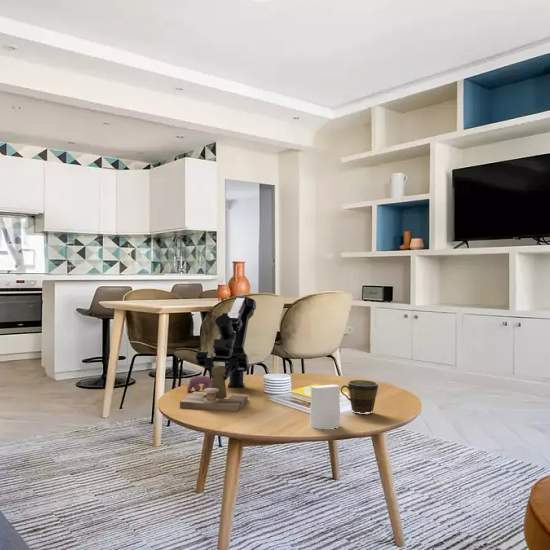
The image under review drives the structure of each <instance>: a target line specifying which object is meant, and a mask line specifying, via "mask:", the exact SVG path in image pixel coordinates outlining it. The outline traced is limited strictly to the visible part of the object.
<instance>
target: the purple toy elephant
mask: <svg viewBox="0 0 550 550" xmlns="http://www.w3.org/2000/svg"><path fill="white" fill-rule="evenodd" d="M212 379H213V378H212ZM212 379H210V377H209V376H206V375H197V376H192V378H190V379H189V381H188V385H187V387H186V388H187V393H190V392H191V391H192V389H194V391H196V390H199V391H201V390H200V389H202V392H204V389H206V388H211V386H212ZM201 384H202V387H201V386H200V385H201ZM189 391H190V392H189Z"/></svg>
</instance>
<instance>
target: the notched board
mask: <svg viewBox="0 0 550 550" xmlns="http://www.w3.org/2000/svg"><path fill="white" fill-rule="evenodd" d="M217 392H219V389H217V388H206V389H204V391H196V390H194V391H193V392H192V393H190V394H189V395H188V396H186V397H184V398H183V399H181V400H180V401H179V408H181V407H183V408H184V409H195V408H198V409H197V410H210V409H214V410H213V411H225V410H226V411H229V412H238V411H240V410H241V409H242V408H243V406H244V405H245V404H246V403H247V402H248V400H249V395H248V394H243V393H242V394H239V393H232V394H231V395H230V396H229V397H227V398H224V399H222V398H216V393H217ZM183 408H182V409H183Z"/></svg>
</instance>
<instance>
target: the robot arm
mask: <svg viewBox="0 0 550 550" xmlns="http://www.w3.org/2000/svg"><path fill="white" fill-rule="evenodd" d="M256 309H257V303H256V300H255V299H253V298H251V297H249V296H248V295H236V296H235V297H234V302H233V304H232V306H231V309H230V311H228V312H222V314H221V315H219V316H218V317H216V318H215V321H214V323H215V326H216V329H217V333H218V335H219V338H215V339H213V343H212V349H214V350H213V354H215V355H213V354H209V352H208V351H197V352H196V354H195V359H196V362H197V364H198V366H201V367H206V368H207V369H208V375H209V376H208V377H210V379H213V375H212V368H213V367H214V366H215V365H214V362H216V363H224V367H225V368H226V373H225V375H224V376H225V377H224V380H225V381H227V380H228V378H229V382H228V384H227V387H228V388H230V387H231V388H244V387H245V384H246V383H245V382H244V377H245V376H244V375H245V373H247V372H249V357H248V355H247V353H246V352H245V349H244V348H245V342H246V337H247V331H248V326H249V325H248V324H249V321H250V319H251V318H252V317H253V316H254V315H255V314H254V313H255V311H256Z"/></svg>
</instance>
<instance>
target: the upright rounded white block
mask: <svg viewBox="0 0 550 550" xmlns="http://www.w3.org/2000/svg"><path fill="white" fill-rule="evenodd" d="M310 388H311V389H310V391H311V392H310V406H309V408H310V409H309V426H310V427H311V428H313V429H316V428H317V430H321V429H331V428H336V427H339V428H340V425H341V424H340V422H341V421H340V420H341V419H340V418H341V407H340V400H341V399H340V394H341V386H340V385H338V384H336V383H335V384H325V385H311V387H310Z"/></svg>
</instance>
